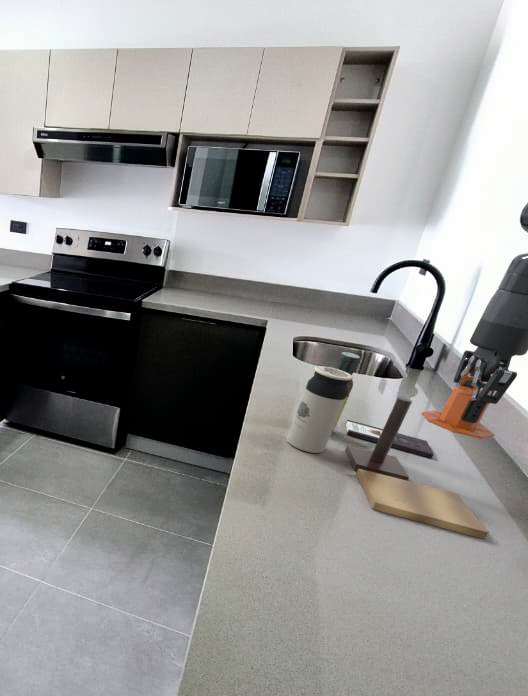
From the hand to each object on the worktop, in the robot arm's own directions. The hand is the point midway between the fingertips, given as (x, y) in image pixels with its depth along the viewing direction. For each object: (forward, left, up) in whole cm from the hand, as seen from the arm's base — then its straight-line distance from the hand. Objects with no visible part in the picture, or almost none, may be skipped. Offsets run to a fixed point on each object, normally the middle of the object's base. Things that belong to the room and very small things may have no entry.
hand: (461, 415), depth 88 cm
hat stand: (+4, -14, -19) cm, 24 cm away
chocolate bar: (-3, -33, -19) cm, 38 cm away
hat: (0, 0, -2) cm, 2 cm away
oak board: (0, 0, -19) cm, 19 cm away
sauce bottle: (+13, -29, -19) cm, 37 cm away
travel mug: (+18, -16, -19) cm, 31 cm away
